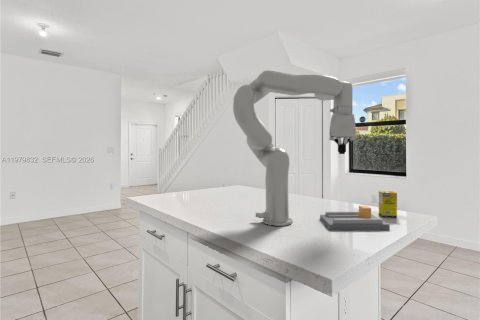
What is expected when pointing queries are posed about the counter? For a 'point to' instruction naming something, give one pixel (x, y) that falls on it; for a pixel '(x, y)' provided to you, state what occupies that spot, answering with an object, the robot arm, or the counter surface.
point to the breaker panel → (329, 223)
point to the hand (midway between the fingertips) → (341, 153)
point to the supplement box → (388, 204)
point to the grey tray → (353, 221)
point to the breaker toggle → (364, 212)
